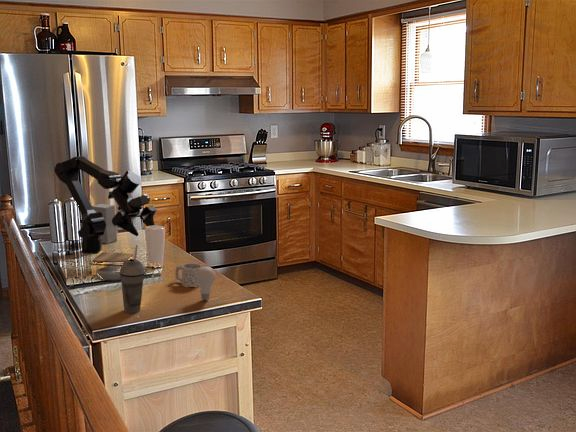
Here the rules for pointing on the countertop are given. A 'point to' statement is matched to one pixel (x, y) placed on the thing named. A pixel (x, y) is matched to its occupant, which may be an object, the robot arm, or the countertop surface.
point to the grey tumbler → (155, 243)
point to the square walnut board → (112, 257)
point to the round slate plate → (109, 273)
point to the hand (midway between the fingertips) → (146, 233)
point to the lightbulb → (205, 281)
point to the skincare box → (107, 222)
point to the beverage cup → (132, 284)
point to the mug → (188, 274)
